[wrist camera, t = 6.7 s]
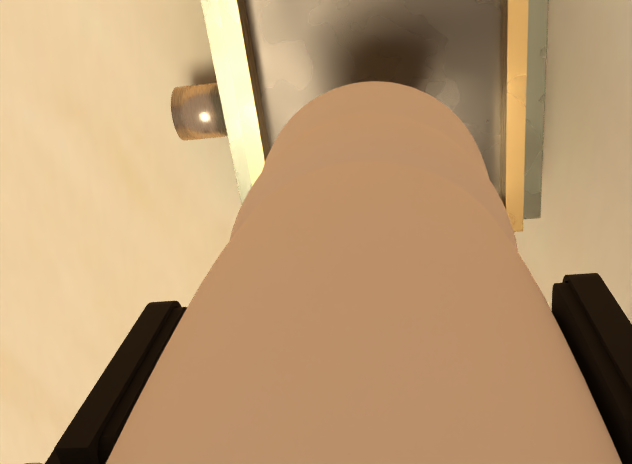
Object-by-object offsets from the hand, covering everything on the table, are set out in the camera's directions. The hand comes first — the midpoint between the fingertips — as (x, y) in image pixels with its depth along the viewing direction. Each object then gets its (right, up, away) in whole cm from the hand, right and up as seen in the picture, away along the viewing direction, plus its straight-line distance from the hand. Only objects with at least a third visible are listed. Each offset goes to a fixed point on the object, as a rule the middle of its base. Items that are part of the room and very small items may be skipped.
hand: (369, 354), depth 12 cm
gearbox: (+1, +11, +21) cm, 23 cm away
